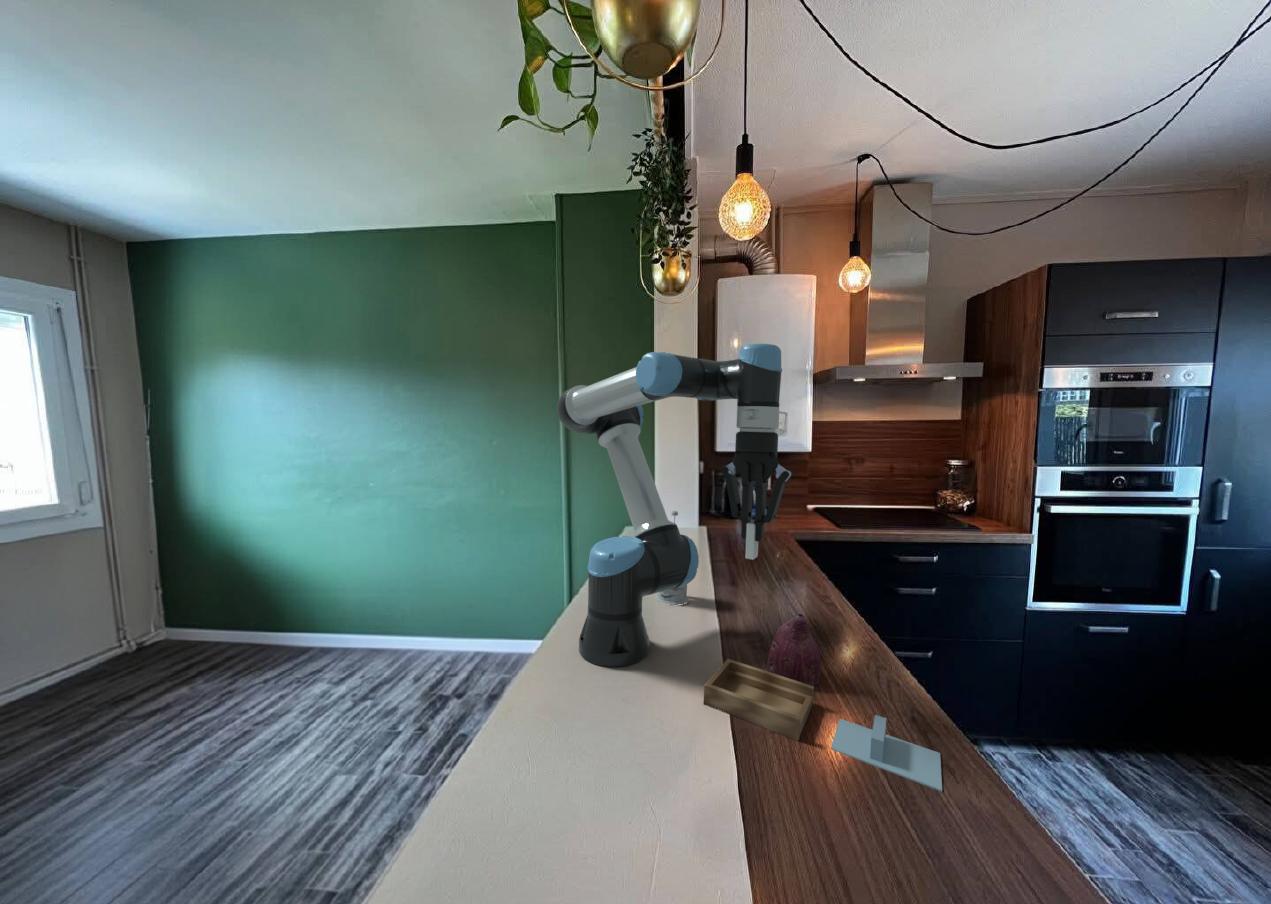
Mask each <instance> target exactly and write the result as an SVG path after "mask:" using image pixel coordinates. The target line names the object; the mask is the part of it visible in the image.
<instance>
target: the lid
mask: <svg viewBox="0 0 1271 904" xmlns="http://www.w3.org/2000/svg"><path fill="white" fill-rule="evenodd" d="M838 719H839V720H838V722H837V725H836V726H837V727H836V730H835V733H834V735H833V740H832V743H831V747H830V750H832V751H834V752H837V753H839V754H842V755H844V756H847V757H850V758H853V759H854V760H855V759H856V760H858V761H860V762H863V763H866V764H868V765H871V766H873V767H875V768H879V769H881V770H884V771H886V772H890V773H893V774H894V775H897V776H899V777H903V778H905V779H907V780H910V781H912V782H916V783H918V784H921V785H923V786H926V787H928V788H932V789H933V790H936V791H939V792H943V783H942V767H941V766H942V761H941V752H938V751H935V750H932V749H929V748H926V747H924V746H921V745H918V744H914V743H912V742H909V741H905V740H904V739H903V740H902V739H901V738H898V737H895V736H891V735H890V734H889V735H888V734H886V733H887V717H884V716H882V715H881V716H880V715H877V714H874V718H873V719H874V720H873V724H872V729H871V728H869V727H865V726H863V725H860V724H857V723H853V722H850V721H848V720H845V719H843V718H838Z"/></svg>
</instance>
